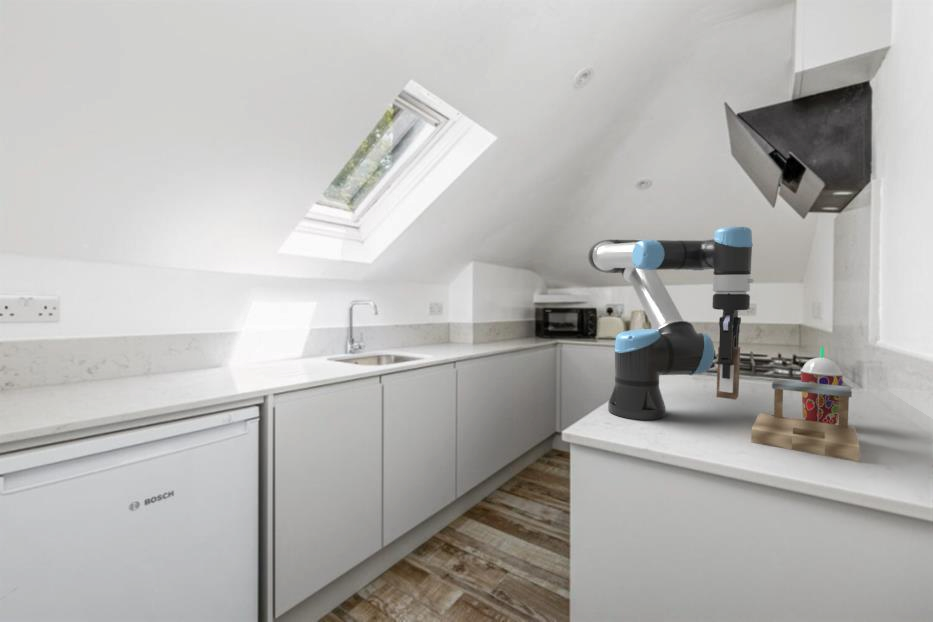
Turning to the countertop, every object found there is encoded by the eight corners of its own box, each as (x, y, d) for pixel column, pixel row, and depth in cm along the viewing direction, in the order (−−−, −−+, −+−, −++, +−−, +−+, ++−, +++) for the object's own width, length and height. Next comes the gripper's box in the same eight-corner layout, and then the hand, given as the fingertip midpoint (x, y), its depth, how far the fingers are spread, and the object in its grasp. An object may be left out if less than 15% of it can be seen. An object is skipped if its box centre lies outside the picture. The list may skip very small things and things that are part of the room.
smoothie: (843, 432, 102) (845, 349, 101) (799, 425, 107) (801, 347, 106) (839, 423, 109) (842, 346, 108) (798, 417, 114) (800, 344, 113)
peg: (716, 396, 102) (718, 347, 101) (719, 393, 105) (721, 345, 104) (736, 399, 99) (737, 349, 99) (738, 396, 102) (740, 347, 102)
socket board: (751, 441, 96) (752, 388, 95) (758, 424, 108) (759, 377, 108) (859, 461, 84) (861, 401, 84) (854, 440, 96) (855, 387, 96)
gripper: (745, 293, 92) (741, 399, 93) (754, 292, 105) (750, 385, 106) (706, 293, 97) (702, 394, 98) (719, 292, 110) (716, 381, 111)
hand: (727, 389), depth 102 cm, fingers closed on peg, 4 cm apart
